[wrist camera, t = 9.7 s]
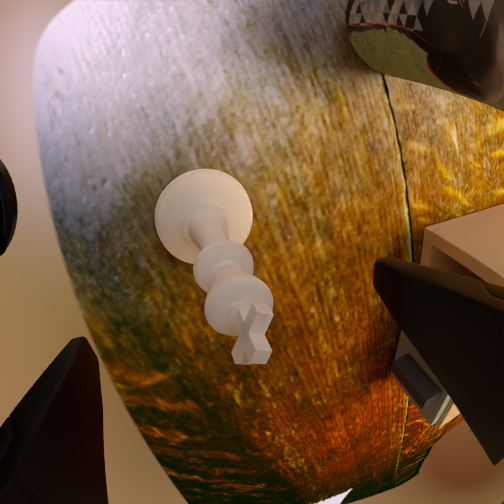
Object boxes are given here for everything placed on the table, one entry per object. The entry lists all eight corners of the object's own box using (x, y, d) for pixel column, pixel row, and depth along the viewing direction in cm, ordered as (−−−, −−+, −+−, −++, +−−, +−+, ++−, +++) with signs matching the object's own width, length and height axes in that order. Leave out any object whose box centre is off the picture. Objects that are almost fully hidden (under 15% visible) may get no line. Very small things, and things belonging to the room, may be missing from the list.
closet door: (374, 381, 27) (414, 435, 20) (387, 319, 23) (443, 379, 17) (396, 371, 27) (437, 421, 21) (412, 308, 23) (468, 362, 17)
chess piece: (144, 249, 16) (141, 412, 7) (170, 157, 14) (183, 239, 5) (232, 268, 18) (303, 415, 9) (264, 184, 16) (384, 284, 7)
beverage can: (408, -5, 13) (575, -19, 2) (422, 100, 16) (595, 141, 6) (323, -22, 12) (507, -94, 1) (341, 99, 15) (558, 136, 5)
